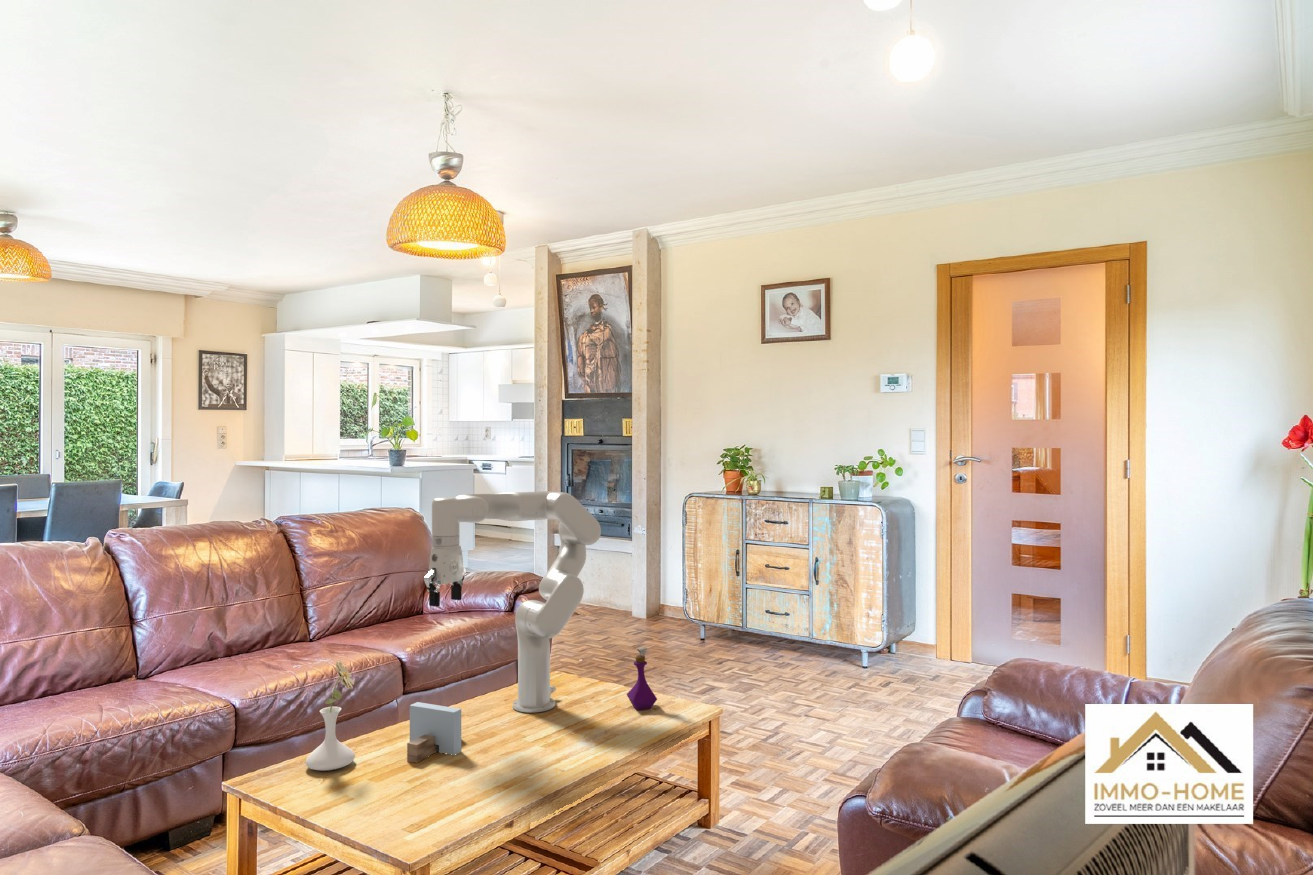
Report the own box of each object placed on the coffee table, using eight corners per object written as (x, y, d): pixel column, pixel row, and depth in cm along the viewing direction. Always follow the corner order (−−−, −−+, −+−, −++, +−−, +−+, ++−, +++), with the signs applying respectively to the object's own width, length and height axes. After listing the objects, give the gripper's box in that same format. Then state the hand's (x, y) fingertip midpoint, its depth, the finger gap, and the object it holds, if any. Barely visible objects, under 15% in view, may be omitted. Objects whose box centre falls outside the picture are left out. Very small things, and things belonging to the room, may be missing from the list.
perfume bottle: (626, 704, 253) (626, 645, 252) (650, 702, 255) (650, 643, 255) (633, 712, 245) (633, 651, 245) (657, 710, 248) (657, 649, 248)
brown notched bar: (452, 737, 225) (452, 720, 225) (461, 738, 224) (461, 722, 224) (407, 761, 208) (407, 743, 208) (416, 763, 207) (416, 744, 207)
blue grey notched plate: (417, 743, 220) (417, 701, 220) (461, 751, 215) (461, 708, 215) (409, 747, 218) (409, 705, 218) (454, 755, 212) (454, 712, 212)
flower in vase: (338, 777, 199) (338, 671, 199) (295, 773, 201) (295, 669, 201) (367, 756, 212) (367, 657, 212) (327, 752, 214) (327, 655, 214)
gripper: (436, 546, 225) (436, 609, 225) (475, 538, 241) (475, 598, 241) (414, 544, 228) (414, 607, 228) (453, 537, 244) (453, 596, 244)
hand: (445, 602), depth 234 cm, fingers open, 9 cm apart
